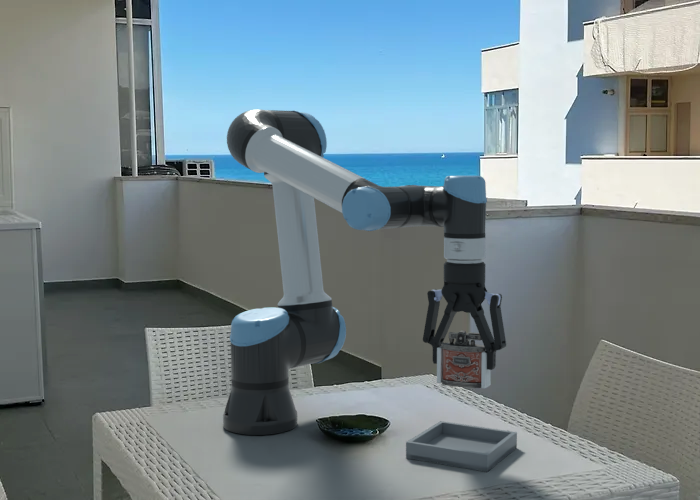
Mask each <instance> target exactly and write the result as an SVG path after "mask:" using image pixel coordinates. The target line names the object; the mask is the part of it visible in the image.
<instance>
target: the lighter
mask: <svg viewBox="0 0 700 500" xmlns="http://www.w3.org/2000/svg"><path fill="white" fill-rule="evenodd" d="M448 339H449V342H444V343H443V344H442V348H443V379H442V383H441V385H442V386H447V387H448V386H449V387H456V388H467V389H482V388H481V372H482V352H484V351H486V349H485V347H484V344H476V341H482V339H481V336H480V334H479V332H466V330H463V329H462V330H460V331H458V332H456V331H449V332H448ZM469 340H470V341H469Z"/></svg>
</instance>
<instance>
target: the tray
mask: <svg viewBox="0 0 700 500" xmlns="http://www.w3.org/2000/svg"><path fill="white" fill-rule="evenodd" d="M517 446H518V432H517V431H510V430H504V429H498V428H490V427H485V426H484V427H483V426H476V425H471V424H470V425H469V424H465V423H456V422H449V421H443V420H440V421H438V422H436V423H434V424H433V425H431V426H430V427H428V428H427V429H425V430H423V431H422V432H420V433H418V434H417V435H415V436H414V437H412V438H410V439H409V440H408V441H407V440H406V441H405V459H409V460H414V461H420V462H425V463H426V462H427V463H432V464H439V465H445V466H450V467H456V468H460V469H461V468H463V469H468V470H473V471H478V472H479V471H480V472H484V473H485V472H486V473H488V472H489V471H490V470H491V469H493V468H494V467H496V466H497V464H499V463H500V462H502V461H503V460H504V459H505V458H506V457H507V456H508V455H510V454H511V453H513V451H515V450H516V449H517Z"/></svg>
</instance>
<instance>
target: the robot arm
mask: <svg viewBox="0 0 700 500" xmlns="http://www.w3.org/2000/svg"><path fill="white" fill-rule="evenodd" d="M227 130H228V131H227V133H226V145H227V150H228V151H229V153H230V155H231V157H232V158H233V159H234V160H235V161H236V162H237V163H239V164H240V165H241V166H243V167H245V168H247V169H249V170H250V171H252V172H254V173H258V174H263V177H264V178H265V179H266V180H267V181H269V182H270V183H271V186H272V195H273V202H274V205H273V206H274V214H275V223H276V232H277V241H278V252H279V253H278V254H279V260H280V261H279V262H280V271H281V279H282V281H281V282H282V290H283V296H282V298H281V299H280V300H279V302H277V307H274V306H273V307H267V306H266V307H262V308H259V307H258V308H252V309H249V310H246V311H243V312H240V313H238V314H237V315H235V317H234V318H232V320H231V324H230V335H229V342H230V371H231V373H230V374H231V375H230V376H231V378H230V379H231V380H230V381H231V384H230V385H231V388H230V392H229V395H228V399H227V402H226V405H225V408H224V411H223V415H222V423H223V424H222V427H223V428H224V429H225V430H226V431H228V432H231V433H235V434H240V435H247V436H248V435H249V436H262V435H263V436H266V435H273V434H274V435H275V434H281V433H285V432H288V431H291V430H293V429H295V428H296V427H297V426H298V412H297V409H296V406H295V402H294V399H293V396H292V393H291V390H290V384H289V383H290V382H289V377H290V375H289V373H290V372H289V371H290V370H291V369H294V368H295V369H296V368H299V367H303V366H308V365H311V364H321V363H323V362H325V361H328V360H330V359H333V358H334V357H336V356H337V355H338V354H339V352H340V351H341V350H342V348H343V346H344V345H345V342H346V336H347V328H346V327H347V325H346V322H345V321H346V320H345V318H344V316H343V315H341V311H340V310H339V309H338V308H337V307H334V306H333V301H332V300H333V299H332V296H329V294H327V293H326V292H325V290H324V282H323V272H322V262H321V254H320V253H321V252H320V241H319V233H318V224H317V215H316V205H315V200H317V201H319V202H321V203H323V204H324V205H326V206H328V207H330V208H331V209H334V210H335V211H337V212H339V213H341V214H342V217H343V219H344V220H345V222H346V223H347V225H348V226H349V227H350V228H352V229H354V230H358V231H367V232H372V231H373V232H374V231H377V230H385V229H396V228H397V229H398V228H399V229H400V228H409V227H412V228H413V227H440V228H443V258H444V259H445V260H446V261H445V262H444V263H443V286H442V287H441V289H436V288H435V289H431V290H428V291H427V300H428V306H427V312H426V318H425V325H424V330H423V337H422V342H424V343H426V344H429V345H430V346H431V347H432V362H433V364H434V365H436V383H437V384H442V379H443V348H442V344H443V343H445V342H444V340H445V339H446V337H447V334H448V333H449V332H448V331H449V329H450V327H451V325H452V323H453V320H454V318H455V316H456V314H457V313H459V312H463V313H468V314H470V317H471V318H472V319H473V321H474V323H475V326H476V328H477V331H478V333H479V334H480V336H481V339H482V340H481V341H482V345H484V347H485V349H486V350H485V351H484V352H482V372H481V388H480V389H487V388H489V387H490V386H491V384H492V383H491V374H492V370H494V369H495V368H496V366H497V365H496V362H497V359H496V358H497V357H496V356H497V351H500V350H502V349H504V348H505V347H507V341H506V334H505V328H504V321H503V315H502V309H501V307H502V300H503V295H502V293H491V292H488V290H487V288H486V263H485V262H484V261H483V260H485V259H486V255H487V253H486V250H487V249H486V244H487V243H486V240H487V239H486V218H487V217H486V216H487V215H486V214H487V213H486V212H487V203H488V199H487V190H486V186H487V185H486V184H487V183H486V180H485V178H484V177H483V176H481V175H447V176H445V178H444V183H443V185H440V186H438V185H435V186H434V185H417V184H406V185H400V186H381V185H378V184H377V183H374V182H372V181H371V180H368V179H366V178H365V177H363V176H360V175H359V174H356V173H355V172H352V171H351V170H348V169H346V168H345V167H342V166H341V165H338V164H337V163H335V162H333V161H330V160H329V159H326V158H324V157H325V155H324V154H325V153H326V151H327V147H328V146H327V145H328V143H327V142H328V141H327V135H326V133H325V129H324V127H323V126H322V123H320V121H319V120H318V119H317V118H316V117H315V116H314V115H312V114H310V113H307V112H303V111H302V112H300V111H298V110H274V109H272V110H271V109H258V108H257V109H251V110H250V109H249V110H247V111H244V112H242V113H240V114H238V115H237V116H236V117H235V118H234V119H233V120H232V122H231V123H230V125H229V127H228V129H227ZM442 298H444V300H445V301H446V303H447V305H446V307H445V309H444V312H443V313H444V314H443V316H442V318H441V320H440V322H439V325H438V327H437V323H438V317H439V310H440V305H441V303H440V302H441V300H442ZM485 300H486V301H487V304H488V306H489V315H490V319H491V320H490V321H491V326H492V332H491V329H490V326H489V323H488V320H487V318H486V316H485V311H484V308H483V305H482V304H483V302H484V301H485Z"/></svg>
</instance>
